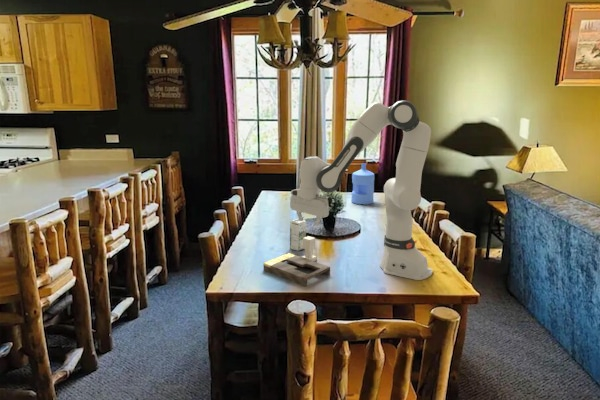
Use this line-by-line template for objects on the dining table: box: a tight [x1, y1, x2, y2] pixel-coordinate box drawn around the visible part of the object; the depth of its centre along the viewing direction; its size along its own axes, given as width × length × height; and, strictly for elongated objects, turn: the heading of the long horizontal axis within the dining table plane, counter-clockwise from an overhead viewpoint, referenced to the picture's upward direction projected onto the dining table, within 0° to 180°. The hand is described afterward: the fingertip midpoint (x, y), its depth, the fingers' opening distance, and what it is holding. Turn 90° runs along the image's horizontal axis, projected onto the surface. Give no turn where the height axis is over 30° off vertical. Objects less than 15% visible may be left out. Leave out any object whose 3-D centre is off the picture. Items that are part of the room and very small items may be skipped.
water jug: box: [350, 162, 375, 206], centre depth 296 cm, size 16×16×28 cm
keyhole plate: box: [262, 252, 331, 287], centre depth 179 cm, size 24×16×3 cm, turn 48°
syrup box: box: [289, 218, 307, 252], centre depth 206 cm, size 6×6×14 cm
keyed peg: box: [301, 235, 317, 262], centre depth 192 cm, size 5×5×11 cm
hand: (308, 222), depth 189 cm, fingers open, 8 cm apart
